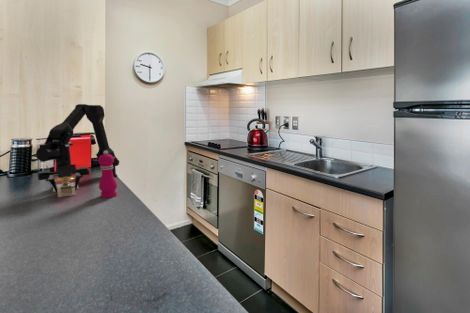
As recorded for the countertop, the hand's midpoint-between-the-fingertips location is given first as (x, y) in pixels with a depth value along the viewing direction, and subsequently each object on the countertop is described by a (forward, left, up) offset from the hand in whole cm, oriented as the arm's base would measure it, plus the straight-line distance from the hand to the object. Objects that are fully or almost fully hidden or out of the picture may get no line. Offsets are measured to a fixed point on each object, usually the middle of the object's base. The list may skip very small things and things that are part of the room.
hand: (66, 191), depth 122 cm
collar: (0, 0, -1) cm, 1 cm away
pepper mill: (+12, +15, -1) cm, 20 cm away
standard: (-11, 0, -1) cm, 11 cm away
